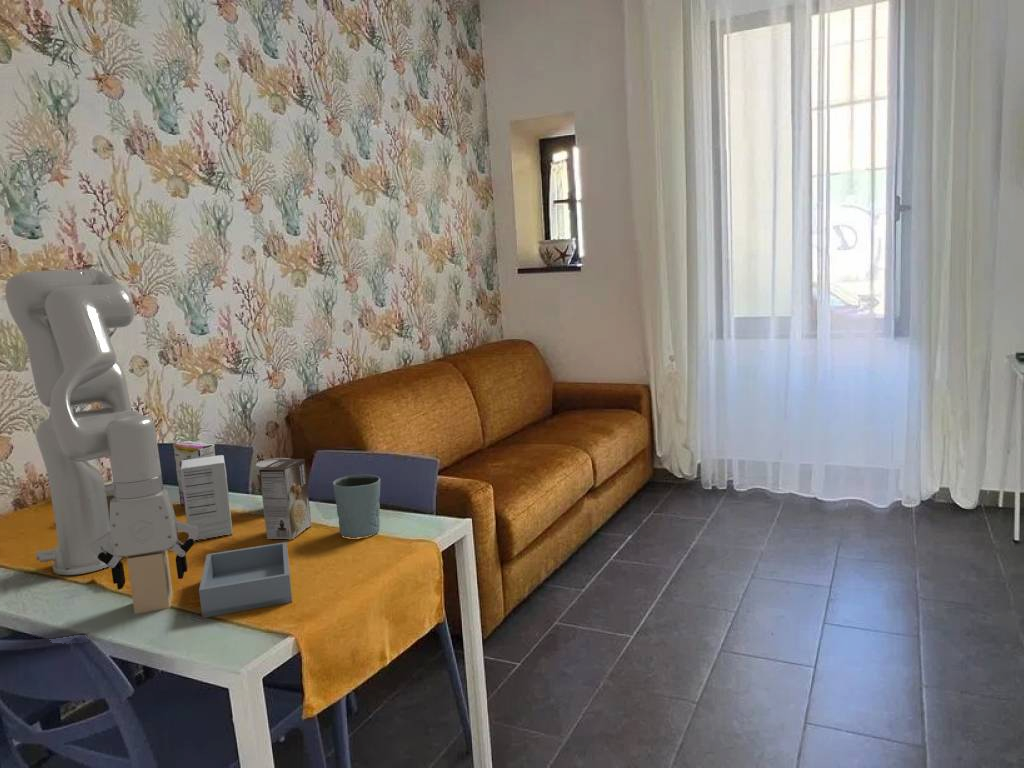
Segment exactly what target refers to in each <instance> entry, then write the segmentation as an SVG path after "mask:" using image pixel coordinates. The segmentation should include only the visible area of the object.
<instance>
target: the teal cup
mask: <svg viewBox="0 0 1024 768" xmlns="http://www.w3.org/2000/svg"><path fill="white" fill-rule="evenodd" d="M332 488H333V492H334V500H335V503H336V512H337V513H336V515H337V517H338V525H339V526H338V527H339V535H340V534H341V535H342V536H344V537H350V538H357V537H365V536H369V535H373V534H376V533H378V532H379V533H380V528H381V527H380V526H381V525H380V524H381V523H380V509H381V508H380V507H381V505H380V499H381V478H380V477H379V476H377V475H376V474H375V475H373V474H353V475H346V476H343V477H340V478H339V477H338V478H337V479H335V480H334V481H333V482H332ZM379 533H378V534H379ZM341 535H340V536H341ZM376 535H377V534H376Z"/></svg>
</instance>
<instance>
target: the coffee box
mask: <svg viewBox="0 0 1024 768" xmlns="http://www.w3.org/2000/svg"><path fill="white" fill-rule="evenodd" d="M305 460H306V459H305V458H297V459H296V458H292V459H291V458H289V459H280V460H278V461H276V462H274V463H272V464H270V465H268V466H266V467H264V468H262V469H260V470H259V473H260V481H261V489H260V491H261V490H262V494H261V498H262V505H263V506H262V507H263V513H264V522H265V523H264V524H265V532H266V539H293V538H294V537H296V536H297V535H298V534H299V533H300V532H302V531H303V530H304V529H306V528H307V527H309V526H310V525H312V517H311V509H310V500H309V490H308V478H307V471H306V461H305ZM296 538H297V537H296Z"/></svg>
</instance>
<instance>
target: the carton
mask: <svg viewBox="0 0 1024 768" xmlns="http://www.w3.org/2000/svg"><path fill="white" fill-rule="evenodd" d="M126 558H127V559H126V561H127V566H128V567H127V569H128V574H129V581H130V582H129V584H130V588H131V589H130V590H131V596H132V605H133V611H134V615H136V614H142V613H143V614H144V613H148V612H155V611H158V610H160V611H161V610H165V609H166V610H167V609H169V608H171V607H170V606H171V604H172V601H173V596H174V592H173V587H172V577H171V569H170V563H169V553H168V550H166V551H161V552H155V553H148V554H142V555H136V556H129V557H126Z"/></svg>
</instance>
